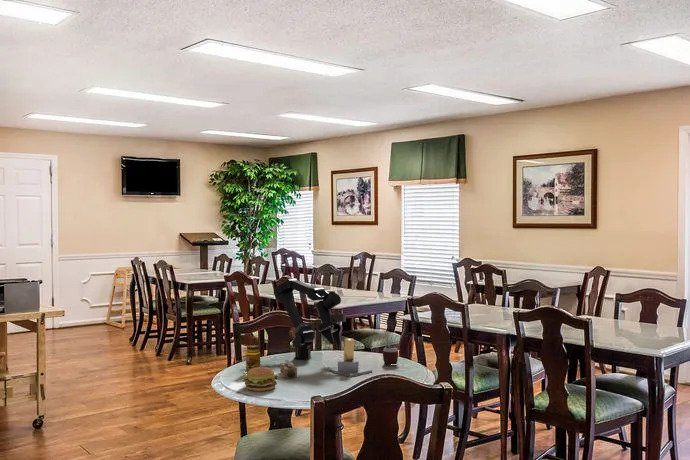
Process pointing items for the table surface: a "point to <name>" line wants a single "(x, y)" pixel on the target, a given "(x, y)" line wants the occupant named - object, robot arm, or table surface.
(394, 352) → the mate gourd
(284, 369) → the beam
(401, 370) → the table surface
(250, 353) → the condiment
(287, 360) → the drift
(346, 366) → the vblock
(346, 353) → the tan cylinder
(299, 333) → the robot arm
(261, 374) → the food
